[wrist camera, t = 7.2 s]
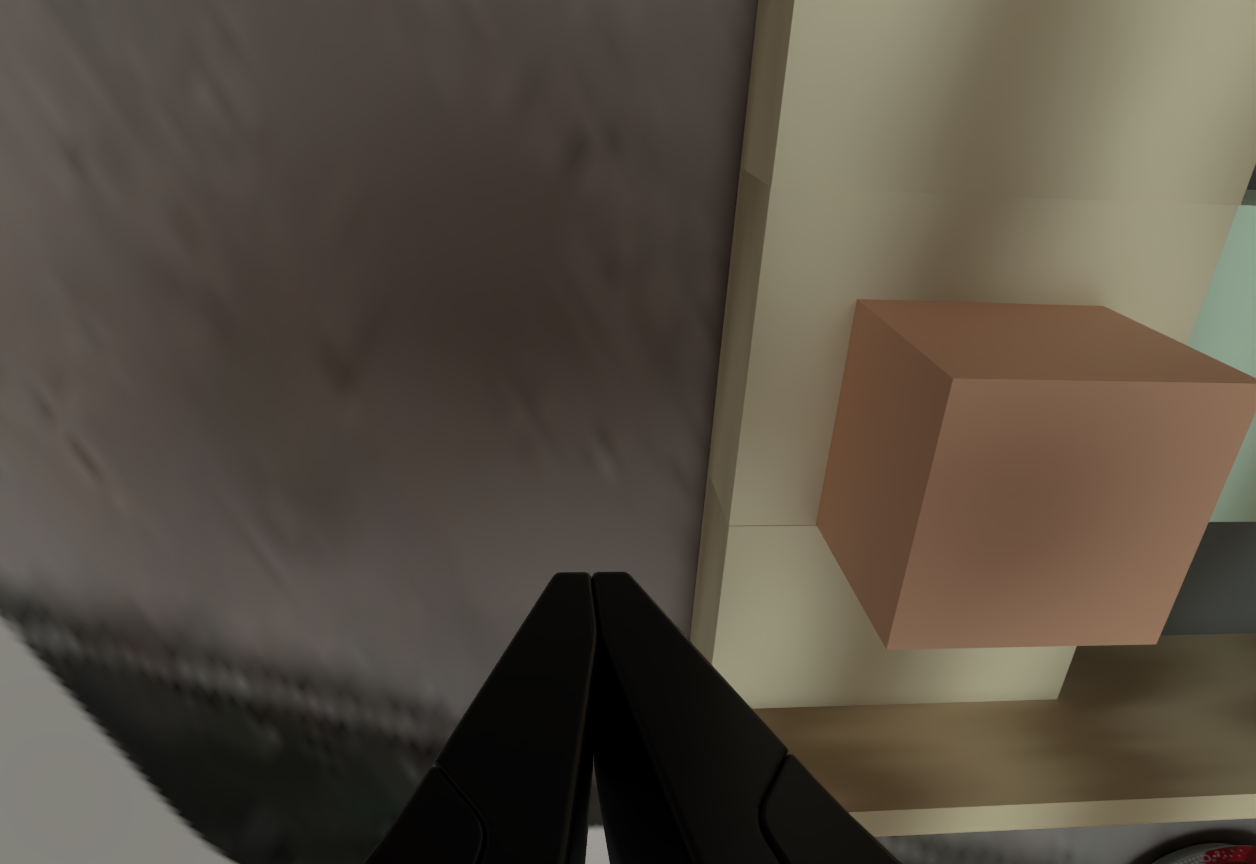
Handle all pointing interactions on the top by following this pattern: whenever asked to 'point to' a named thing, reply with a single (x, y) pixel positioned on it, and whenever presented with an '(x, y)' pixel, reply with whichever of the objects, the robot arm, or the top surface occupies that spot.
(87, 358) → the top surface
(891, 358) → the block
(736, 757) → the robot arm
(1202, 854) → the soda can
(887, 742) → the tray
